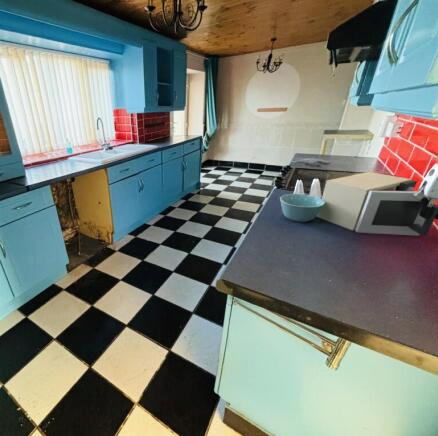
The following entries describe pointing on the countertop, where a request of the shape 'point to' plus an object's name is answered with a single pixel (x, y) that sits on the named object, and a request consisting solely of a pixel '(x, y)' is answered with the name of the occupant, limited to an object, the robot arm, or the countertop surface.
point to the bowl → (301, 206)
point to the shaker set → (314, 190)
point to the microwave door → (394, 214)
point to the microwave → (356, 195)
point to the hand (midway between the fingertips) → (429, 217)
